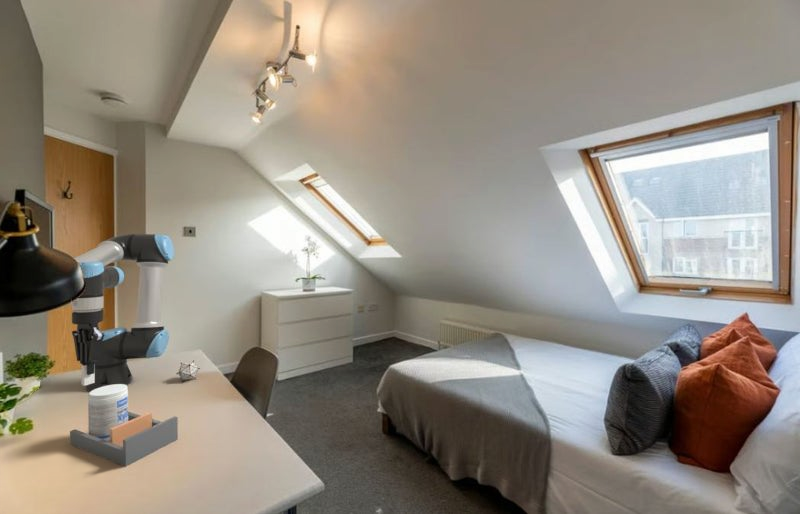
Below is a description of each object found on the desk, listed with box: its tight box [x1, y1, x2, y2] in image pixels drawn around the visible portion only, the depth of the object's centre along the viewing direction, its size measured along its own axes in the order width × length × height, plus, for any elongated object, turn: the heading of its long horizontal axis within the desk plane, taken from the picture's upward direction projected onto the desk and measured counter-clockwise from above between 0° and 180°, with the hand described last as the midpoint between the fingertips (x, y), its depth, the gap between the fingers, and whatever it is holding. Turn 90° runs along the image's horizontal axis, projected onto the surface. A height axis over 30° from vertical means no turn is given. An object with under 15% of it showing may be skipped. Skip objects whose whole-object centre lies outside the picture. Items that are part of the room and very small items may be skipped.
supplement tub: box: [87, 384, 129, 442], centre depth 108 cm, size 10×10×15 cm
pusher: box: [110, 412, 153, 447], centre depth 103 cm, size 4×11×7 cm, turn 158°
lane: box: [69, 411, 179, 467], centre depth 105 cm, size 26×14×7 cm, turn 68°
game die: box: [175, 360, 201, 383], centre depth 154 cm, size 9×8×10 cm
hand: (88, 383), depth 111 cm, fingers closed
